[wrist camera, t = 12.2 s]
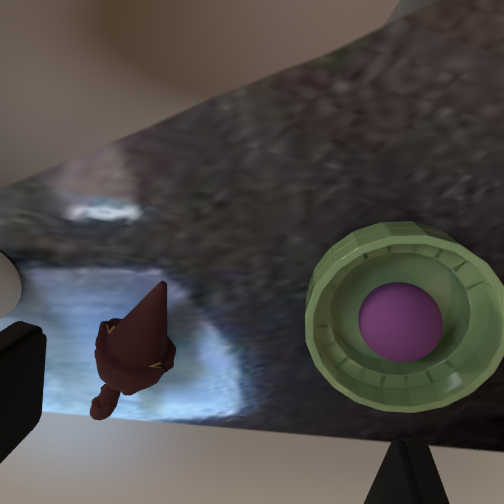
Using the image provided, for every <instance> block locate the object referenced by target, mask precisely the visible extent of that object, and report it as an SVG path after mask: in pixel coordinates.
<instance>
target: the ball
mask: <svg viewBox="0 0 504 504" xmlns="http://www.w3.org/2000/svg"><path fill="white" fill-rule="evenodd" d="M358 324H359V329H360V333H361V335H362V338H363V339H364V341H365V343H366V344H367V345H368V347H369V348H370V349H371V350H372V351H374V352H375V353H376V354H377V355H379V356H381V357H383V358H385V359H387V360H390V361H394V362H412V361H416V360H419V359H421V358H423V357H425V356H427V355H428V354H429V353H431V352H432V351H433V350H434V348H435V347H436V346H437V344H438V342H439V341H440V338H441V335H442V330H443V319H442V314H441V311H440V309H439V307H438V305H437V303H436V302H435V300H434V299H433V298H432V297H431V296H430V295H429V294H428V293H427V292H426V291H424V290H423V289H421V288H420V287H418V286H415V285H413V284H409V283H404V282H391V283H386V284H383V285H381V286H379V287H377V288H375V289H374V290H372V291H371V292H370V293H369V294H368V295H367V296H366V298H365V299H364V301H363V302H362V304H361V307H360V310H359V315H358Z"/></svg>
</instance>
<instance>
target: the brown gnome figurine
mask: <svg viewBox="0 0 504 504" xmlns="http://www.w3.org/2000/svg"><path fill="white" fill-rule="evenodd" d="M95 345H96V350H95V358H96V364H97V370H98V374H99V376H100V378H101V379H102V380H103V381H104V382H105V383H106V384H104V385H103V386H102V387H101V392H100V394H99V396H97V397H95V398H94V399H93V400H92V406H91V408H90V416H91V417H92V418H93V419H95V420H102V419H105V418H107V417H109V416H110V415H111V414H112V412H113V411H114V409H115V408H116V406H117V403H118V399H119V396H120V391H121V392H122V393H123V394H124V395H132V394H134V393H136V392H138V391H140V390H143V389H146V388H148V387H150V386H152V385H154V384H156V383H157V382H158V381H159V379H160V378H161V377H162V375H163V374H164V373H166V372H167V371H168V370H169V369H171V368H173V366H174V357H175V353H176V346H175V345H174V343H173V342H172V341H171V340H170V339H169V337H168V336H167V283H166V282H164V281H161V282H160V283H159V284H157V285H156V286H155V287H154V288H153V289H152V290H151V291H150V292H149V294H148V295H147V296H146V297H145V298H144V299H143V300H142V301H141V302H140V303H139V304H138V305H137V306H136V307H135V308H134V309H133V310H132V311H131V312H130V313H129V314H128V315H127V316H126V317H125V318H124V319H118V318H113V319H110V320H109V321H103V322H101V324H100V327H99V332H98V336H97V338H96V343H95Z"/></svg>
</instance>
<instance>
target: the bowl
mask: <svg viewBox="0 0 504 504" xmlns="http://www.w3.org/2000/svg"><path fill="white" fill-rule="evenodd" d="M391 282H404V283H409V284H413V285H415V286H418V287H420V288H421V289H423V290H424V291H426V292H427V293H428V294H429V295H430V296H431V297H432V298H433V299H434V300H435V302H436V303H437V305H438V307H439V309H440V311H441V314H442V319H443V330H442V335H441V338H440V341H439V342H438V344H437V346H436V347H435V348H434V350H433V351H432V352H431V353H429V354H428V355H427V356H425V357H423V358H421V359H419V360H416V361H412V362H394V361H390V360H387V359H385V358H383V357H381V356H379V355H377V354H376V353H375V352H374V351H372V350H371V349H370V348H369V347H368V345H367V344H366V343H365V341H364V339H363V338H362V335H361V333H360V329H359V324H358V315H359V310H360V307H361V304H362V302H363V301H364V299H365V298H366V296H367V295H368V294H369V293H370V292H371V291H372V290H374V289H375V288H377V287H379V286H381V285H383V284H386V283H391ZM305 330H306V343H307V346H308V348H309V351H310V354H311V356H312V359H313V361H314V364H315V366H316V367H317V369H318V370H319V371H320V372H321V373H322V375H323V376H324V377H325V378H326V379H327V381H328V382H329V383H330V384H331V385H332V386H333V387H334V388H335V389H337V390H338V391H340V392H341V393H343V394H344V395H346V396H347V397H349V398H350V399H352V400H353V401H355V402H357V403H360V404H363V405H366V406H369V407H372V408H376V409H379V410H382V411H390V412H408V413H416V412H421V411H426V410H431V409H436V408H441V407H444V406H447V405H449V404H451V403H453V402H455V401H457V400H459V399H461V398H463V397H465V396H467V395H469V394H471V393H473V392H474V391H475V390H476V389H477V388H478V387H479V386H480V385H481V384H482V383H484V382H485V381H486V380H487V379H488V378H489V377H490V376H491V375H492V374H493V373H494V372H495V370H496V369H497V367H498V365H499V363H500V361H501V360H502V358H503V356H504V285H503V284H502V282H501V281H500V280H499V278H498V277H497V275H496V274H495V273H494V271H493V270H492V268H491V267H490V266H489V264H488V263H487V262H485V261H484V260H483V259H481V258H480V257H479V256H477V255H476V254H475V253H474V252H472V251H471V250H470V249H468V248H467V247H466V246H464V245H463V244H461V243H460V242H458V241H457V240H456V239H454V238H453V237H451V236H450V235H448V234H447V233H445V232H444V231H442V230H440V229H437V228H434V227H430V226H427V225H423V224H420V223H416V222H412V221H406V222H381V223H377V224H374V225H371V226H368V227H365V228H362V229H359V230H356V231H354V232H352V233H351V234H349V235H348V236H346V237H345V238H343V239H342V240H340V241H339V242H338V243H336V244H335V245H333V246H332V247H331V248H330V249H329V250H328V251H327V253H326V254H325V255H324V257H323V258H322V259H321V260H320V262H319V263H318V264H317V266H316V267H315V269H314V271H313V274H312V277H311V280H310V283H309V286H308V289H307V293H306V309H305Z"/></svg>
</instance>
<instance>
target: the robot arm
mask: <svg viewBox="0 0 504 504" xmlns="http://www.w3.org/2000/svg"><path fill="white" fill-rule="evenodd" d="M46 342H47V338H46V335H45V334H43V331H42V328H41V327H39V326H36V325H32V324H29V323H26V322H22V321H17V322H15V323H13V324H11V325H10V326H8V327H7V328H5V329H4V330H2V331H0V463H1V462H2V461H3V460H4V459H5V458H6V457H7V456H8V455H9V454H10V453H11V452H12V451H13V450H14V449H15V448H16V447H17V445H18V444H19V443H20V442H21V441H22V440H23V439H24V438H25V437H26V436H27V435H28V434H29V433H30V431H32V430H33V429H34V427H35V426H36V425H37V423H38V422H39V419H40V417H41V414H42V402H43V387H44V372H45V357H46ZM364 504H449V501H448V498H447V496H446V493H445V490H444V487H443V484H442V482H441V479H440V476H439V473H438V470H437V468H436V465H435V462H434V460H433V457H432V454H431V451H430V448H429V446H428V445H427V444H426V443H423V442H420V441H417V440H413V439H410V438H407V437H401V438H400V439H399V441H396V440H393V441H392V442H391V444H390V446H389V448H388V451H387V453H386V455H385V458H384V460H383V462H382V464H381V466H380V469H379V471H378V473H377V475H376V477H375V480H374V482H373V484H372V486H371V488H370V491H369V493H368V495H367V498H366V500H365V502H364Z"/></svg>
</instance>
